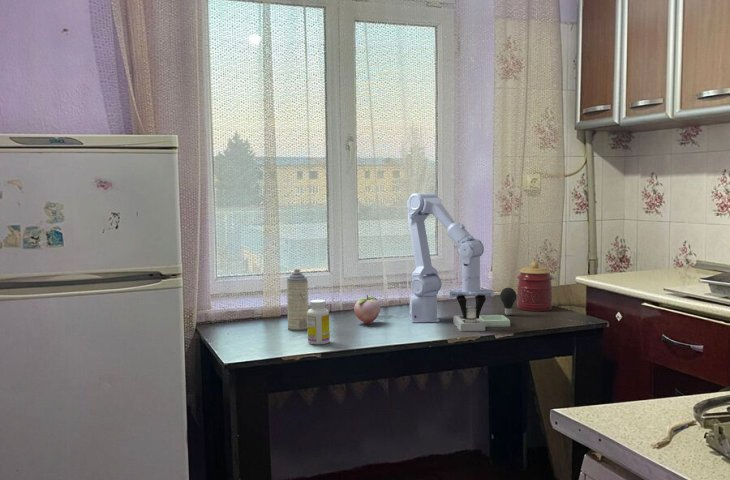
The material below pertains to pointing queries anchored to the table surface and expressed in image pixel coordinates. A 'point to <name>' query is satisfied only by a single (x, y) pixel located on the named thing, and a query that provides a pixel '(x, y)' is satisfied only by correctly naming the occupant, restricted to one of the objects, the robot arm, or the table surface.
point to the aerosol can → (297, 301)
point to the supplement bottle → (318, 323)
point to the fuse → (470, 314)
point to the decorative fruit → (367, 309)
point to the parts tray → (495, 320)
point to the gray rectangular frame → (468, 324)
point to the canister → (534, 288)
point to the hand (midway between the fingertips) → (470, 318)
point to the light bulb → (508, 299)
